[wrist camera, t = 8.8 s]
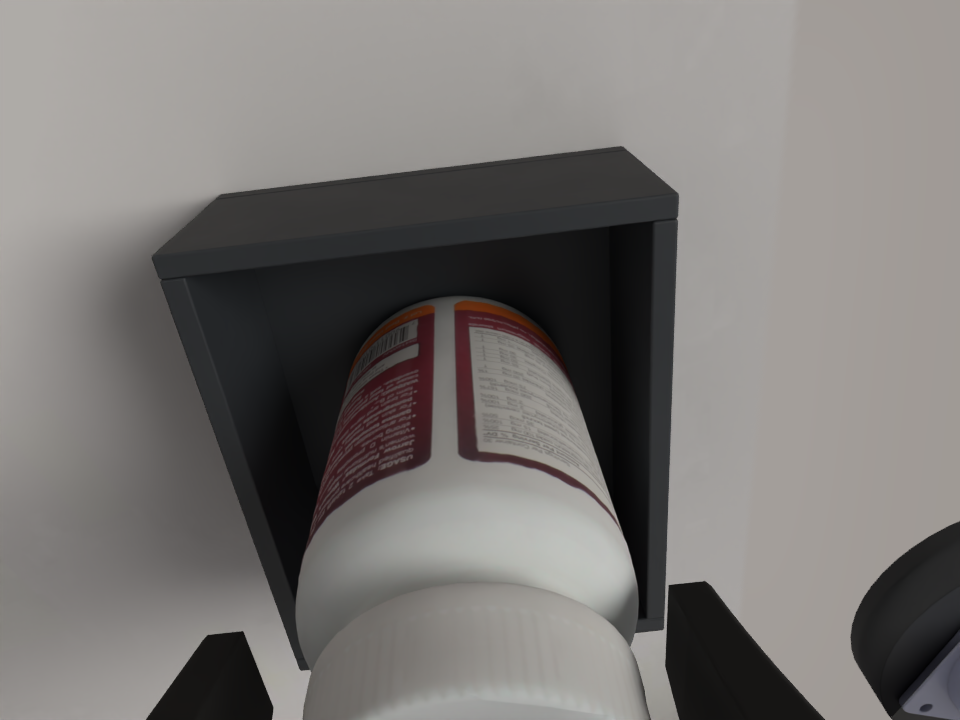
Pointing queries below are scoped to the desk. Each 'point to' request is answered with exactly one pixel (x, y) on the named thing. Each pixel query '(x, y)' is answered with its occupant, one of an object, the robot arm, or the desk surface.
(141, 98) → the desk surface
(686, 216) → the desk surface
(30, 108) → the desk surface
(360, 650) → the pill bottle
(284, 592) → the waste bin
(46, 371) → the desk surface
